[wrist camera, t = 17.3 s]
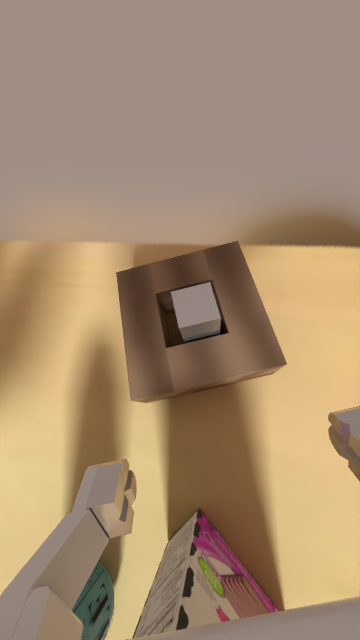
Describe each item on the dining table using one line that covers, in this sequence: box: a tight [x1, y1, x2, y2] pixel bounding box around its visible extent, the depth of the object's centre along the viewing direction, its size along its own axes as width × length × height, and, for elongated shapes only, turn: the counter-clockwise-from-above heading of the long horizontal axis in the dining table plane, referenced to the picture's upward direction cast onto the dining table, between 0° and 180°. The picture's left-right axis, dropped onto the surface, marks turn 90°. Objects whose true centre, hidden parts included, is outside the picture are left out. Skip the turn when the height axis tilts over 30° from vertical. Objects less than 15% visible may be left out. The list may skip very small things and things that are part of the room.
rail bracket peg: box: [171, 282, 221, 344], centre depth 27 cm, size 4×4×10 cm
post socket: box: [116, 241, 287, 403], centre depth 29 cm, size 16×16×6 cm
